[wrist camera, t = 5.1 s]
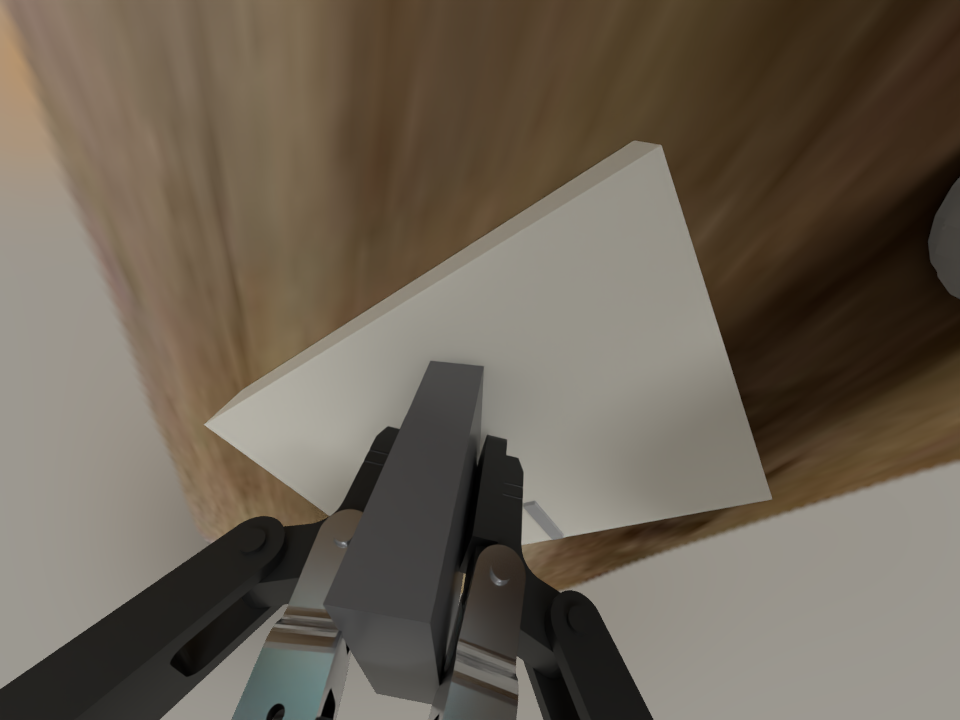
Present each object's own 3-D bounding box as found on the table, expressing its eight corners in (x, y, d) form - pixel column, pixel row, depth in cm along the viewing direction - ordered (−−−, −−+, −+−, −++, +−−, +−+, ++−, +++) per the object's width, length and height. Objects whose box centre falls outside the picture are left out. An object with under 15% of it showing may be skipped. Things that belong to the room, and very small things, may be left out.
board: (633, 140, 9) (664, 145, 7) (740, 449, 15) (775, 503, 13) (242, 389, 17) (200, 427, 15) (411, 528, 23) (398, 570, 21)
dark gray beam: (483, 366, 11) (430, 623, 5) (475, 538, 17) (447, 738, 12) (430, 360, 11) (322, 604, 6) (441, 533, 18) (397, 728, 12)
